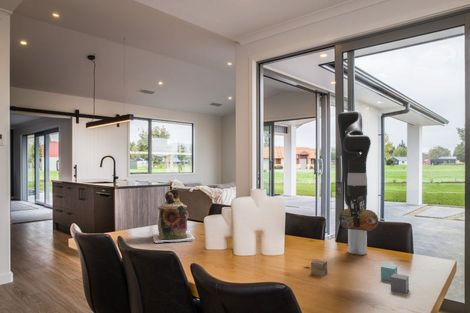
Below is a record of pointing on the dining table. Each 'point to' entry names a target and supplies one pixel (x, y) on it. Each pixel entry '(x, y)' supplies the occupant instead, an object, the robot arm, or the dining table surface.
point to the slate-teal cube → (388, 271)
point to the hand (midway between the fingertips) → (357, 226)
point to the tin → (366, 220)
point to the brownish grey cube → (319, 267)
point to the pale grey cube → (399, 283)
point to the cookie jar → (172, 220)
